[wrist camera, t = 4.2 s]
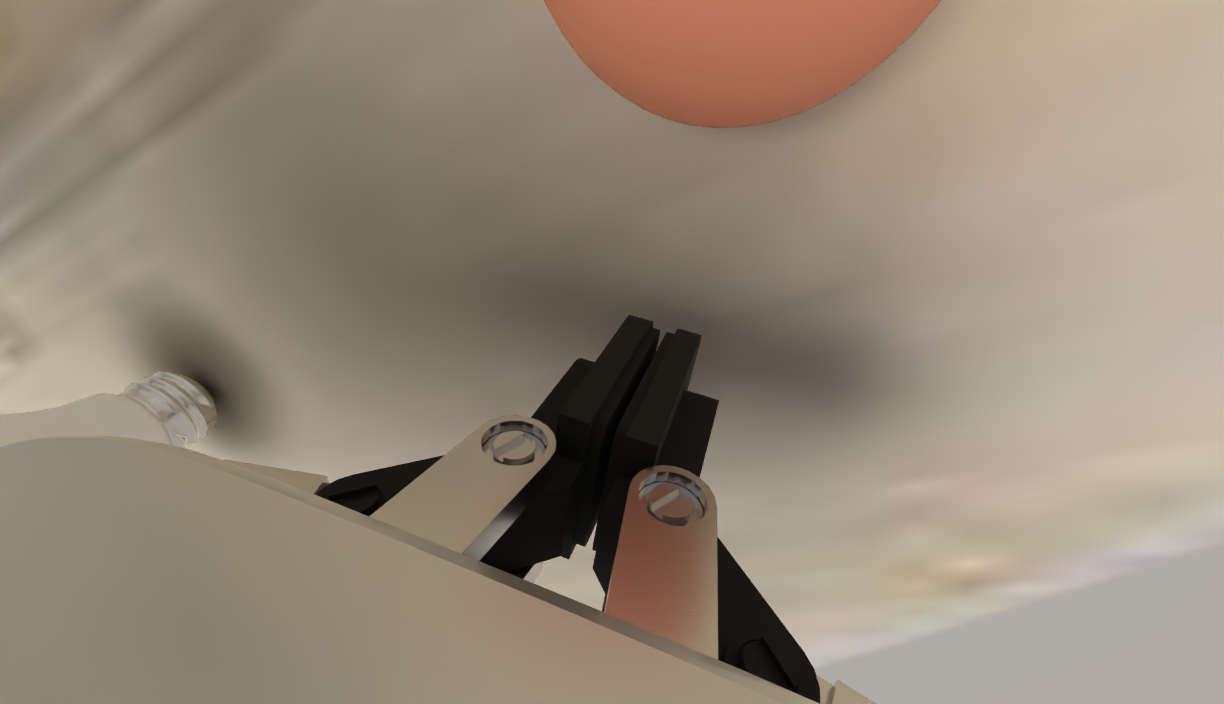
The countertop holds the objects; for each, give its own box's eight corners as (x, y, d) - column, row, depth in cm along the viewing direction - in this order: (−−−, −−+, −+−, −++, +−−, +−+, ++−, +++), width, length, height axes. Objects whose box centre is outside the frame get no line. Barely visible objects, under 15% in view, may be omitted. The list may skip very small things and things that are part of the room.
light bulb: (242, 335, 18) (-335, 609, 9) (292, 473, 21) (-91, 775, 12) (112, 302, 20) (-491, 503, 10) (176, 435, 23) (-238, 676, 14)
